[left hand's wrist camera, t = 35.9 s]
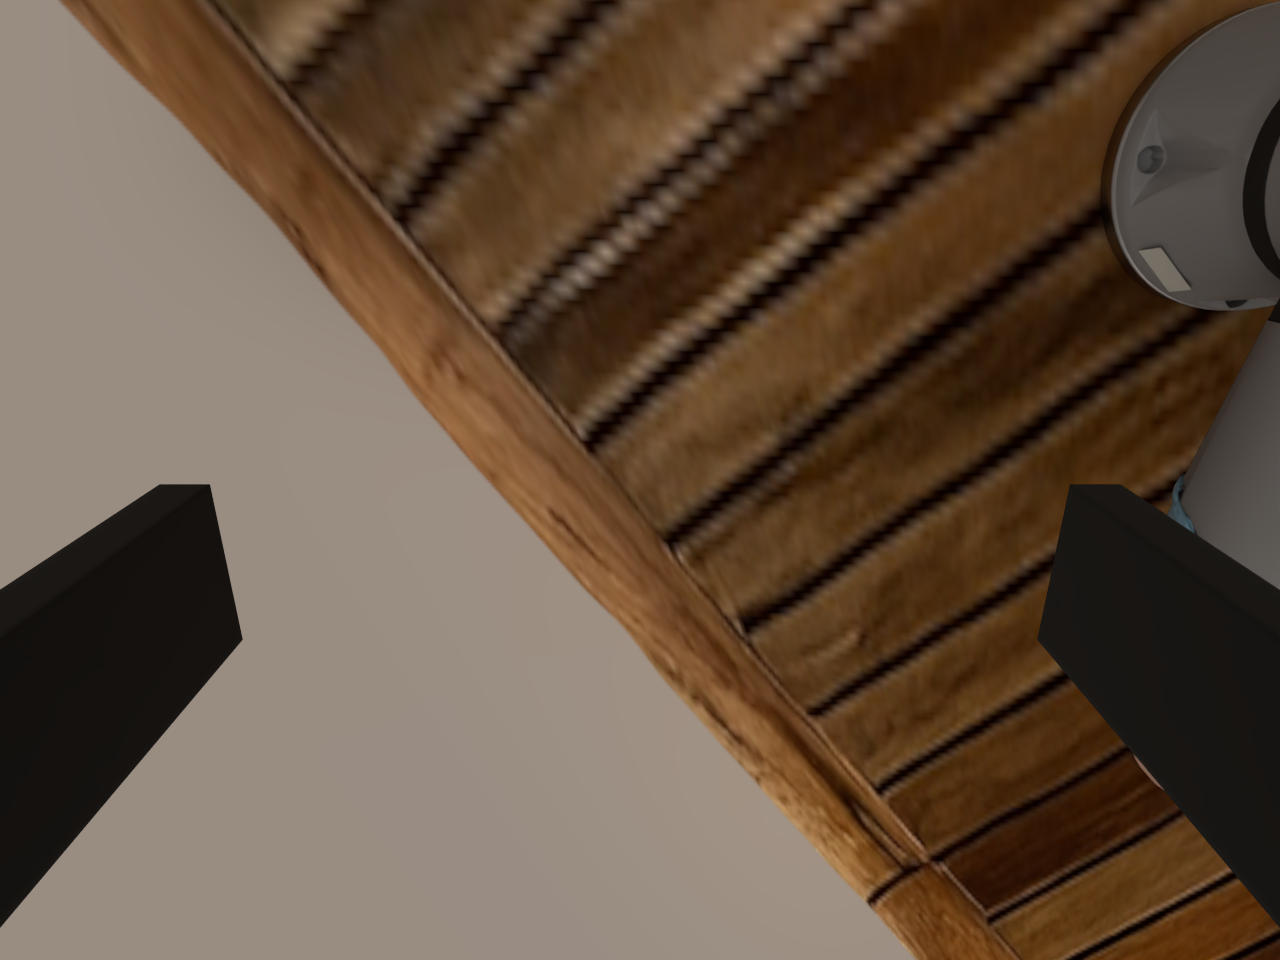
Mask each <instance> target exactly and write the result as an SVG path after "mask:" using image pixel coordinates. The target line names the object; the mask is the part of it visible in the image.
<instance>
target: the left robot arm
mask: <svg viewBox="0 0 1280 960" xmlns="http://www.w3.org/2000/svg"><path fill="white" fill-rule="evenodd" d="M1101 209H1102V217H1103V222H1104V227H1105V231H1106V234H1107V237H1108V240H1109V243H1110V245H1111V247H1112V249H1113V252H1114V254H1115V255H1116V257H1117V259H1118V260H1119V262H1120V263H1121V265H1122V266H1123V267H1124V269H1125V270H1126V271H1127V272H1128V273H1129V274H1130V275H1131V276H1132V277H1133V278H1134V279H1135V280H1136V281H1137V282H1138V283H1139V284H1140V285H1142V286H1143V287H1144V288H1146V289H1147V290H1149V291H1151V292H1152V293H1154V294H1156V295H1158V296H1160V297H1162V298H1165V299H1167V300H1170V301H1173V302H1176V303H1180V304H1184V305H1188V306H1192V307H1197V308H1202V309H1209V310H1248V309H1256V308H1261V307H1267V306H1271V305H1275V304H1276V306H1275V307H1274V309H1273V311H1272V313H1271V315H1270V317H1269V318H1268V320H1269V321H1268V320H1267V321H1266V323H1265V325H1264V327H1263V329H1262V330H1261V332H1260V334H1259V336H1258V338H1257V340H1256V342H1255V344H1254V346H1253V347H1252V349H1251V351H1250V353H1249V355H1248V357H1247V359H1246V361H1245V363H1244V365H1243V366H1242V368H1241V370H1240V372H1239V374H1238V376H1237V378H1236V380H1235V382H1234V383H1233V385H1232V387H1231V389H1230V391H1229V393H1228V395H1227V397H1226V399H1225V400H1224V402H1223V404H1222V406H1221V408H1220V410H1219V412H1218V414H1217V416H1216V418H1215V419H1214V421H1213V423H1212V425H1211V427H1210V429H1209V431H1208V433H1207V435H1206V436H1205V438H1204V440H1203V442H1202V444H1201V446H1200V448H1199V450H1198V452H1197V453H1196V455H1195V457H1194V459H1193V461H1192V463H1191V465H1190V467H1189V469H1188V470H1187V472H1186V474H1184V475H1182V476H1180V477H1179V479H1178V481H1177V483H1176V484H1175V486H1174V489H1173V493H1172V505H1171V507H1170V510H1169V512H1168V514H1167V515H1166V514H1164V513H1163V512H1161V511H1160V510H1158V509H1157V508H1155V507H1154V506H1152V505H1151V504H1149V503H1148V502H1146V501H1145V500H1143V499H1142V498H1140V497H1139V496H1137V495H1136V494H1134V493H1133V492H1131V491H1129V490H1128V489H1126V488H1125V487H1123V486H1122V485H1120V484H1070V488H1069V492H1068V497H1067V502H1066V507H1065V511H1064V516H1063V521H1062V525H1061V530H1060V535H1059V540H1058V544H1057V549H1056V554H1055V559H1054V563H1053V568H1052V573H1051V578H1050V582H1049V587H1048V592H1047V596H1046V601H1045V606H1044V611H1043V615H1042V620H1041V625H1040V630H1039V634H1038V639H1037V640H1038V641H1039V642H1040V643H1041V645H1042V646H1043V647H1044V648H1045V649H1046V650H1047V652H1048V653H1049V654H1050V655H1051V656H1052V658H1053V659H1054V660H1055V661H1056V662H1057V664H1058V665H1059V666H1060V667H1061V668H1062V669H1063V671H1064V672H1065V673H1066V674H1067V675H1068V677H1069V678H1070V679H1071V680H1072V681H1073V683H1074V684H1075V685H1076V686H1077V687H1078V688H1079V690H1080V691H1081V692H1082V693H1083V694H1084V696H1085V697H1086V698H1087V699H1088V700H1089V702H1090V703H1091V704H1092V705H1093V706H1094V707H1095V709H1096V710H1097V711H1098V712H1099V713H1100V715H1101V716H1102V717H1103V718H1104V719H1105V721H1106V722H1107V723H1108V724H1109V725H1110V726H1111V728H1112V729H1113V730H1114V731H1115V732H1116V734H1117V735H1118V736H1119V737H1120V738H1121V740H1122V741H1123V742H1124V743H1125V744H1126V745H1127V747H1128V748H1129V749H1130V750H1131V751H1132V753H1133V754H1134V755H1135V756H1136V757H1137V759H1138V760H1139V761H1140V762H1141V763H1142V764H1143V766H1144V767H1145V768H1146V769H1147V770H1148V772H1149V773H1150V774H1151V775H1152V776H1153V778H1154V779H1155V780H1156V781H1157V782H1158V783H1159V785H1160V786H1161V787H1162V788H1163V789H1164V791H1165V792H1166V793H1167V794H1168V795H1169V797H1170V798H1171V799H1172V800H1173V801H1174V803H1175V804H1176V805H1177V806H1178V807H1179V808H1180V810H1181V811H1182V812H1183V813H1184V814H1185V816H1186V817H1187V818H1188V819H1189V820H1190V822H1191V823H1192V824H1193V825H1194V826H1195V827H1196V829H1197V830H1198V831H1199V832H1200V833H1201V835H1202V836H1203V837H1204V838H1205V839H1206V841H1207V842H1208V843H1209V844H1210V845H1211V846H1212V848H1213V849H1214V850H1215V851H1216V852H1217V854H1218V855H1219V856H1220V857H1221V858H1222V860H1223V861H1224V862H1225V863H1226V864H1227V865H1228V867H1229V868H1230V869H1231V870H1232V871H1233V873H1234V874H1235V875H1236V876H1237V877H1238V879H1239V880H1240V881H1241V882H1242V883H1243V884H1244V886H1245V887H1246V888H1247V889H1248V890H1249V892H1250V893H1251V894H1252V895H1253V896H1254V898H1255V899H1256V900H1257V901H1258V902H1259V903H1260V905H1261V906H1262V907H1263V908H1264V909H1265V911H1266V912H1267V913H1268V914H1269V915H1270V917H1271V918H1272V919H1273V920H1274V921H1275V922H1276V924H1277V925H1278V926H1279V927H1280V1H1279V2H1275V3H1271V4H1266V5H1262V6H1258V7H1254V8H1251V9H1247V10H1244V11H1241V12H1238V13H1235V14H1232V15H1229V16H1227V17H1224V18H1222V19H1220V20H1218V21H1215V22H1214V23H1212V24H1210V25H1208V26H1206V27H1204V28H1203V29H1201V30H1199V31H1198V32H1196V33H1195V34H1193V35H1192V36H1190V37H1189V38H1187V39H1186V40H1185V41H1183V42H1182V43H1181V44H1180V45H1178V46H1177V47H1176V48H1175V49H1173V50H1172V51H1171V52H1170V53H1169V54H1168V55H1167V56H1166V57H1165V58H1164V59H1162V60H1161V61H1160V63H1159V64H1158V65H1157V66H1156V67H1155V68H1154V69H1153V70H1152V71H1151V72H1150V73H1149V75H1148V76H1147V77H1146V78H1145V80H1144V81H1143V82H1142V83H1141V85H1140V86H1139V87H1138V89H1137V90H1136V92H1135V93H1134V95H1133V96H1132V98H1131V99H1130V101H1129V103H1128V104H1127V106H1126V108H1125V110H1124V111H1123V113H1122V115H1121V117H1120V119H1119V121H1118V123H1117V126H1116V128H1115V130H1114V133H1113V135H1112V138H1111V141H1110V144H1109V147H1108V150H1107V154H1106V158H1105V162H1104V168H1103V173H1102V182H1101ZM241 641H242V634H241V630H240V625H239V620H238V615H237V611H236V606H235V601H234V596H233V592H232V587H231V582H230V578H229V573H228V568H227V563H226V559H225V554H224V549H223V544H222V540H221V535H220V530H219V525H218V521H217V516H216V511H215V507H214V502H213V497H212V492H211V488H210V485H209V484H207V485H205V484H204V485H203V484H200V485H199V484H191V485H190V484H187V485H185V484H177V485H175V484H168V485H167V484H166V485H164V484H160V485H158V486H157V487H155V488H154V489H152V490H151V491H149V492H147V493H146V494H144V495H143V496H141V497H140V498H138V499H137V500H135V501H134V502H132V503H131V504H129V505H128V506H126V507H125V508H123V509H122V510H120V511H119V512H117V513H116V514H114V515H113V516H111V517H110V518H108V519H107V520H105V521H104V522H102V523H101V524H99V525H97V526H96V527H95V528H93V529H91V530H90V531H88V532H87V533H85V534H84V535H82V536H81V537H79V538H78V539H76V540H75V541H73V542H72V543H70V544H69V545H67V546H66V547H64V548H63V549H61V550H60V551H58V552H57V553H55V554H54V555H52V556H51V557H49V558H48V559H46V560H44V561H43V562H41V563H40V564H39V565H37V566H35V567H34V568H32V569H31V570H29V571H28V572H26V573H25V574H23V575H22V576H20V577H19V578H17V579H16V580H14V581H13V582H11V583H10V584H8V585H7V586H5V587H4V588H2V589H0V927H1V926H2V925H3V924H4V922H5V921H6V920H7V919H8V918H9V917H10V915H11V914H12V913H13V912H14V911H15V909H16V908H17V907H18V906H19V905H20V903H21V902H22V901H23V900H24V899H25V897H26V896H27V895H28V894H29V893H30V892H31V890H32V889H33V888H34V887H35V886H36V884H37V883H38V882H39V881H40V880H41V879H42V877H43V876H44V875H45V874H46V873H47V871H48V870H49V869H50V868H51V867H52V865H53V864H54V863H55V862H56V861H57V860H58V858H59V857H60V856H61V855H62V854H63V852H64V851H65V850H66V849H67V848H68V846H69V845H70V844H71V843H72V842H73V841H74V839H75V838H76V837H77V836H78V835H79V833H80V832H81V831H82V830H83V829H84V827H85V826H86V825H87V824H88V823H89V822H90V820H91V819H92V818H93V817H94V816H95V814H96V813H97V812H98V811H99V810H100V808H101V807H102V806H103V805H104V804H105V803H106V801H107V800H108V799H109V798H110V797H111V795H112V794H113V793H114V792H115V791H116V789H117V788H118V787H119V786H120V785H121V783H122V782H123V781H124V780H125V779H126V778H127V776H128V775H129V774H130V773H131V772H132V770H133V769H134V768H135V767H136V766H137V764H138V763H139V762H140V761H141V760H142V759H143V757H144V756H145V755H146V754H147V753H148V751H149V750H150V749H151V748H152V747H153V745H154V744H155V743H156V742H157V741H158V740H159V738H160V737H161V736H162V735H163V734H164V732H165V731H166V730H167V729H168V728H169V726H170V725H171V724H172V723H173V722H174V721H175V719H176V718H177V717H178V716H179V715H180V713H181V712H182V711H183V710H184V709H185V707H186V706H187V705H188V704H189V703H190V701H191V700H192V699H193V698H194V697H195V696H196V694H197V693H198V692H199V691H200V690H201V688H202V687H203V686H204V685H205V684H206V683H207V681H208V680H209V679H210V678H211V677H212V675H213V674H214V673H215V672H216V671H217V669H218V668H219V667H220V666H221V665H222V664H223V662H224V661H225V660H226V659H227V658H228V656H229V655H230V654H231V653H232V652H233V650H234V649H235V648H236V647H237V646H238V644H239V643H240V642H241Z"/></svg>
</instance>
